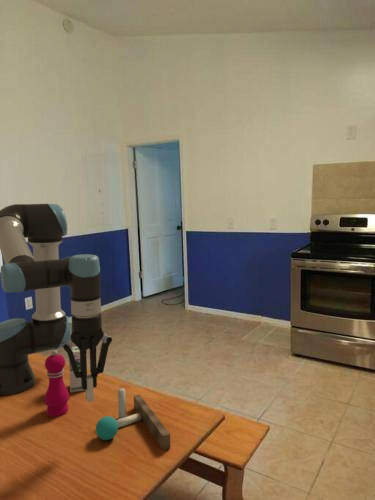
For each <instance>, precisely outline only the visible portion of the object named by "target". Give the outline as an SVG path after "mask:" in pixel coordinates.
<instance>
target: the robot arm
mask: <svg viewBox="0 0 375 500" xmlns="http://www.w3.org/2000/svg"><path fill="white" fill-rule="evenodd" d="M66 217H67V216H66V214H65V212H64V209H63V208H62V207H61V205H59V204H57V203H56V204H55V203H28V204H27V203H24V204H23V203H21V204H20V203H17V204H10V205H8V206H5V207H4V208H2V209H0V253H1V255H2V259H3V262H4V264H2V265H0V282H1V288H2V290H3V292H5V293H22V292H29V291H34V292H35V293H34V294H35V311H34V313H33V314H32V315H31V321H27V320H26V319H25V318H21V317H19V318H10V319H6V320H4V321H1V322H0V396H10V395H16V394H19V393H22V392H24V391H27V390H29V389H30V388H32V387H33V386H34V385H35V383H36V376H35V373H34V371H33V368H32V366H31V363H30V361H29V355H32V354H33V355H35V354H38V353H43V352H48V351H53V350H56V351H58V349H62V348H63V350H64V351H65V352H66V354H67V356H68V361H69V360H70V363H71V366H72V369H73V372H74V375H75V377H76V378H81V386H82V388H83V390H86V391H85V399H86V401H87V403H90V402H91V403H92V402H94V401H95V400H94V388H97V385H98V383H97V382H98V377H99V374H103V373H104V370H105V366H106V361H107V356H108V351H109V347H110V345H111V343H112V341H113V338H112V337H111V335H110V334H106V333H104V331H103V328H102V327H103V325H102V314H101V312H102V305H101V304H102V303H101V299H102V298H101V296H102V295H101V267H100V259H99V256H97V255H95V254H91V253H89V254H87V253H85V254H74V255H72V256H65V257H63V258H61V259H60V257H59V255H60V253H59V246H60V244H62V243H63V237H65V236H67V234H68V222H67V218H66ZM26 239H27V240H26ZM29 245H30V246H32V251H31V249H30V247H29ZM62 287H69V288H70V309H71V310H70V313H71V314H70V315H72V316H71V318H70V317H69V316H67V315H66V312H65V311H64V310H62V308H61V307H62V306H61V305H62V304H61V288H62ZM100 342H101V347H100V350H99V357H98V362H97V347H98V345H99V343H100ZM73 344H74V345H75V347H78V348H79V350H80V370H81V371H79V370H78V367H77V364H76V361H75V358H74V354H73V352H72V350H71V349H72V348H73V347H74V346H73ZM88 350H89V367H90V369H89V371H90V373H88V364H87V363H88V362H87V353H88V352H87V351H88Z"/></svg>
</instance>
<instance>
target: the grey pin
mask: <svg viewBox="0 0 375 500" xmlns="http://www.w3.org/2000/svg"><path fill="white" fill-rule="evenodd" d="M117 400H118V402H117V403H118V405H117V406H118V407H117V409H118V419H121V418H124V417H127V402H126V401H127V400H126V389H125V387H124V388H123V387H121V388H119V389H117Z"/></svg>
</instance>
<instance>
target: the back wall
mask: <svg viewBox="0 0 375 500" xmlns="http://www.w3.org/2000/svg"><path fill="white" fill-rule="evenodd" d="M133 408H134V410H135V411H136V414H137V413H140V414H141V421H142V422H143V423H144V424H145V426H146V428H147V429H148V430H149V432H150V434H152V436H153V438H154V439H155V440H156V442H157V444H158V445H159V446H160V448H161V449H162V451H166V450H169V449H171V433H170V432H169V430H168V429H167V428H166V427H165V425H164V424H163V423H162V421H161V420H160V419H159V417H157V415H156V414H155V412H154V411H153V409H152V408H151V407H150V406H149V404H148V403H147V402H146V401H145V400H144V398H143V397H142V395H141V394H136V395H134V396H133Z"/></svg>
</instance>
